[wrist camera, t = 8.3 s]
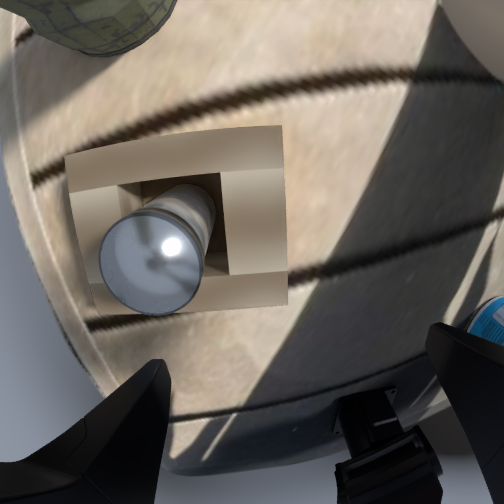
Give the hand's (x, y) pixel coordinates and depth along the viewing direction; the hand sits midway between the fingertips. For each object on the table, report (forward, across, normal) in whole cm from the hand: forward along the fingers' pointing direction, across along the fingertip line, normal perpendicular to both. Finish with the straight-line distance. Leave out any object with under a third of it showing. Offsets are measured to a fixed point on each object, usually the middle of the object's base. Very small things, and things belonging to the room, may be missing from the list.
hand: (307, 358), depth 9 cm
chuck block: (+12, +6, -3) cm, 13 cm away
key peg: (+12, +5, -3) cm, 13 cm away
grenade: (+12, +9, -19) cm, 24 cm away
